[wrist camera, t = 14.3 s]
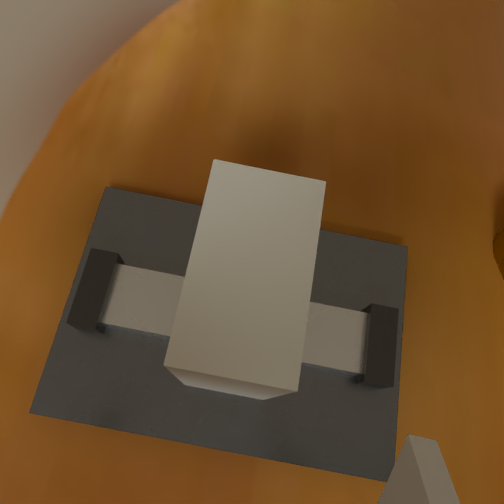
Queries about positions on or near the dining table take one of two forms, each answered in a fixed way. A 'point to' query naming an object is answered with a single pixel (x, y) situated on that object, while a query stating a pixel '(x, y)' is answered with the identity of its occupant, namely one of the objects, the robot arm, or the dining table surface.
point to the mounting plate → (214, 402)
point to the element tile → (499, 250)
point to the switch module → (248, 283)
